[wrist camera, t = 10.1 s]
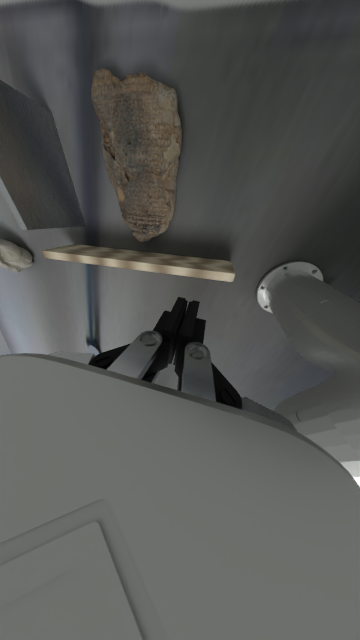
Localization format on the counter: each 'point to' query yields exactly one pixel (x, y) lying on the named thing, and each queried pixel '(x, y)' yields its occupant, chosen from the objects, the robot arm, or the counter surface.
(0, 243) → the fossil replica
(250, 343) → the counter surface
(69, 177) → the bookend
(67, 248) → the shelf wall
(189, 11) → the counter surface
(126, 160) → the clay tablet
